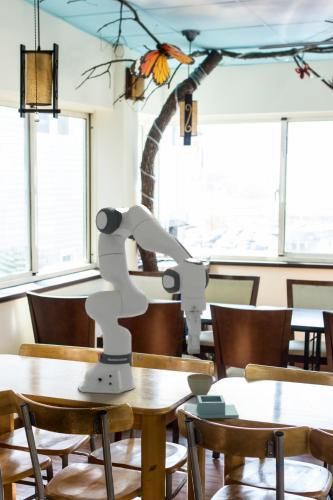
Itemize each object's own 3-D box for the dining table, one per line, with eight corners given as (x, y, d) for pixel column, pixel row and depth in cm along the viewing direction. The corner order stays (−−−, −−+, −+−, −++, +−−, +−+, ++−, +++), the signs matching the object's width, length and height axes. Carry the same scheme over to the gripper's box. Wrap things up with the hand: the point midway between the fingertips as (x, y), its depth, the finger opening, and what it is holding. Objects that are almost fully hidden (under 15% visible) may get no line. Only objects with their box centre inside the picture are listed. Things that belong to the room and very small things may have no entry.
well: (186, 418, 245) (186, 404, 244) (184, 407, 257) (184, 394, 256) (238, 417, 246) (238, 403, 245) (234, 407, 258) (234, 393, 257)
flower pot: (185, 391, 278) (185, 373, 277) (210, 391, 278) (211, 373, 278) (188, 399, 268) (188, 380, 267) (214, 398, 269) (214, 380, 268)
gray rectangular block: (188, 353, 249) (188, 331, 249) (187, 351, 253) (187, 329, 253) (199, 353, 250) (199, 330, 249) (198, 351, 254) (198, 329, 253)
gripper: (205, 308, 239) (205, 349, 240) (200, 301, 259) (200, 338, 260) (186, 309, 239) (186, 349, 240) (182, 301, 259) (183, 339, 260)
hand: (193, 344), depth 250 cm, fingers closed on gray rectangular block
